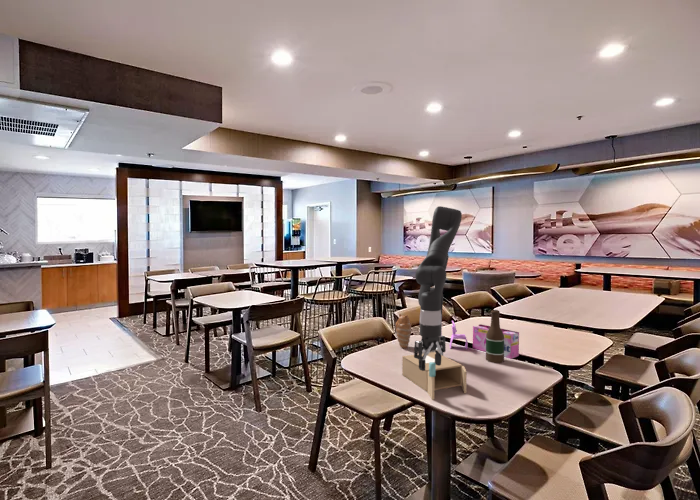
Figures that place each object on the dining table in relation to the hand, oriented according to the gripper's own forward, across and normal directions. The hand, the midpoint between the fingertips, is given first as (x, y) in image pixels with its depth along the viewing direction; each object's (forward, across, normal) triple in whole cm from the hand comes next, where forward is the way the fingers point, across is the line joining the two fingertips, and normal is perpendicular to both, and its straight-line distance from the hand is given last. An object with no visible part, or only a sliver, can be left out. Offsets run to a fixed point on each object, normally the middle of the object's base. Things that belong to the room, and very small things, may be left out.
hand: (430, 367), depth 131 cm
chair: (+12, -57, -29) cm, 65 cm away
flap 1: (+11, -4, -4) cm, 12 cm away
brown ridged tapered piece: (+12, -37, -48) cm, 61 cm away
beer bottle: (+11, -54, -7) cm, 56 cm away
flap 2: (+11, -18, +1) cm, 21 cm away
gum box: (+12, -66, -14) cm, 68 cm away
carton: (+11, -14, -11) cm, 21 cm away
